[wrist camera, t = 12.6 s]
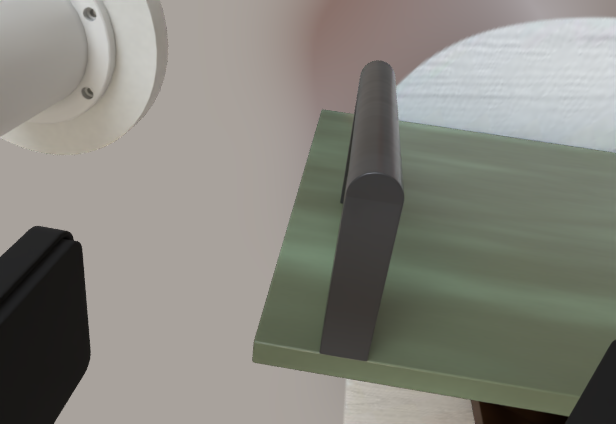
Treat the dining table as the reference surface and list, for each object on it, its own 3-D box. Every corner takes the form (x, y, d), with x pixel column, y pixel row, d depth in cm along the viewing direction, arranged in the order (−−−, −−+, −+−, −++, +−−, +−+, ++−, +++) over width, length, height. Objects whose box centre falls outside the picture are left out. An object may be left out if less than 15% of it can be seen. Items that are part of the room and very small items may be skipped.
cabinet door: (334, 8, 35) (268, 155, 14) (747, 66, 34) (1311, 315, 13) (320, 122, 39) (251, 364, 18) (689, 177, 38) (1055, 502, 17)
